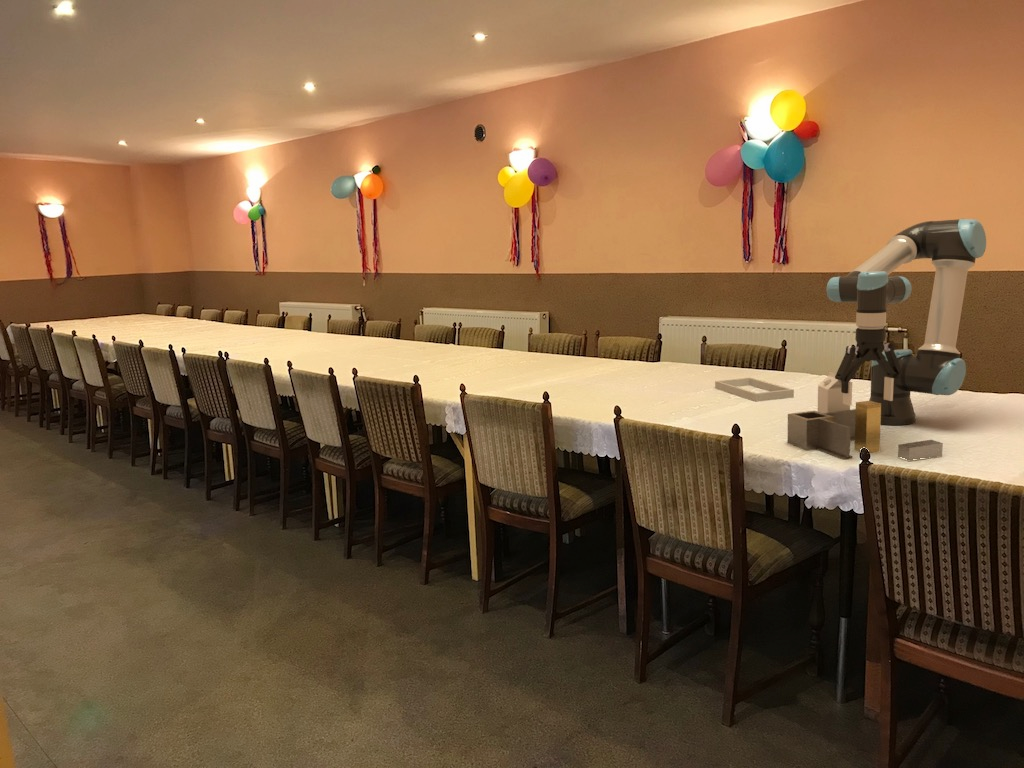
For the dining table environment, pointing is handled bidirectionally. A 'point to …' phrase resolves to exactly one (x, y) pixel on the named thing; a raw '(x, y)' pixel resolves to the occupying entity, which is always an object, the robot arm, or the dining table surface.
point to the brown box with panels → (823, 431)
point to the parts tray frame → (775, 393)
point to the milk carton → (830, 395)
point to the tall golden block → (867, 426)
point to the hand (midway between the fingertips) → (867, 402)
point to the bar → (920, 449)
